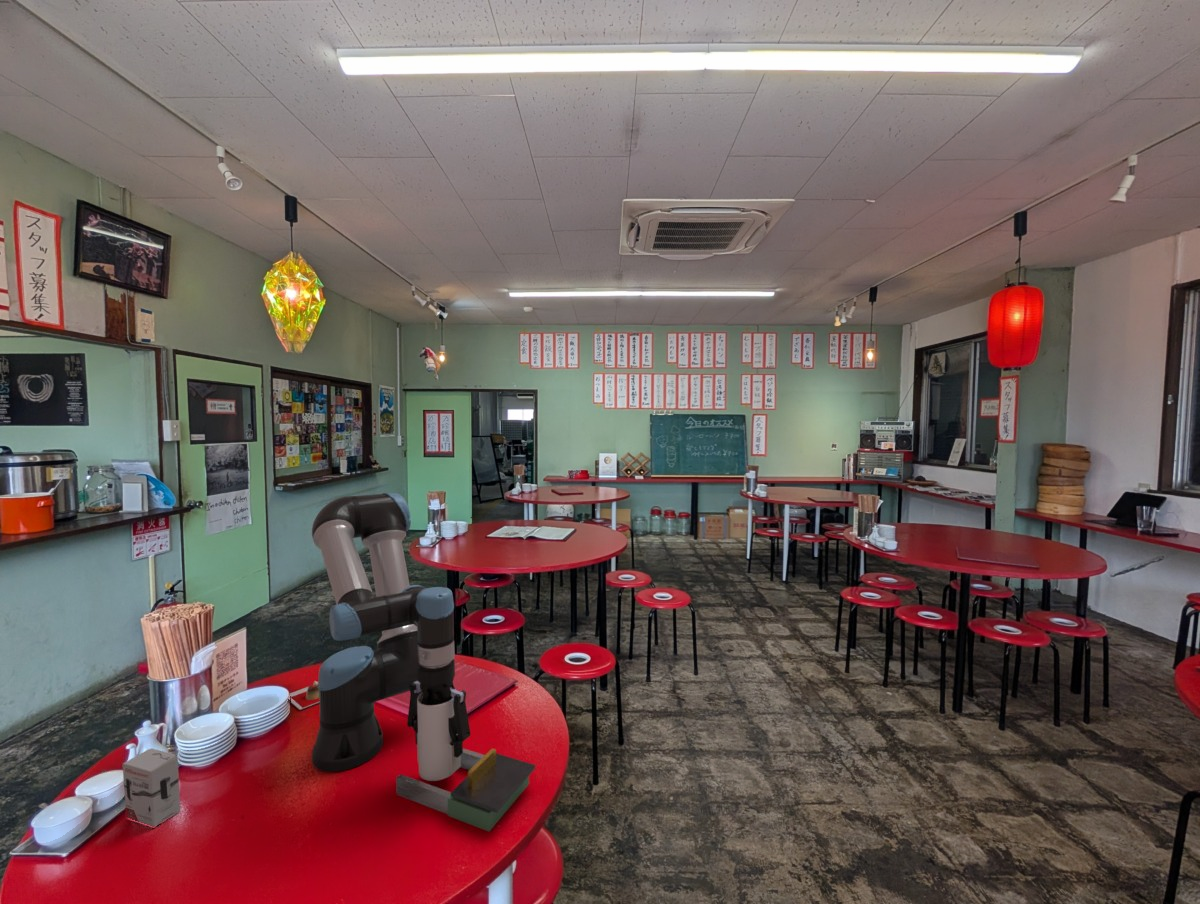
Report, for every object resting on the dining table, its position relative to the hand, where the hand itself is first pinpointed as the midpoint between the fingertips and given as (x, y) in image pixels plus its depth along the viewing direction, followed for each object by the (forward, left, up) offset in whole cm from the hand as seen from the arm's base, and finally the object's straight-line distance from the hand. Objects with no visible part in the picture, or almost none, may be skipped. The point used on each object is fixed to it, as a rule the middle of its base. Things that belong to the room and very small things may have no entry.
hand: (439, 764), depth 108 cm
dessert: (-59, +14, -5) cm, 61 cm away
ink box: (-46, -30, -4) cm, 55 cm away
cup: (0, 0, -1) cm, 1 cm away
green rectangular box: (+13, 0, -4) cm, 14 cm away
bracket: (+1, 0, -4) cm, 4 cm away
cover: (+15, 0, 0) cm, 15 cm away
